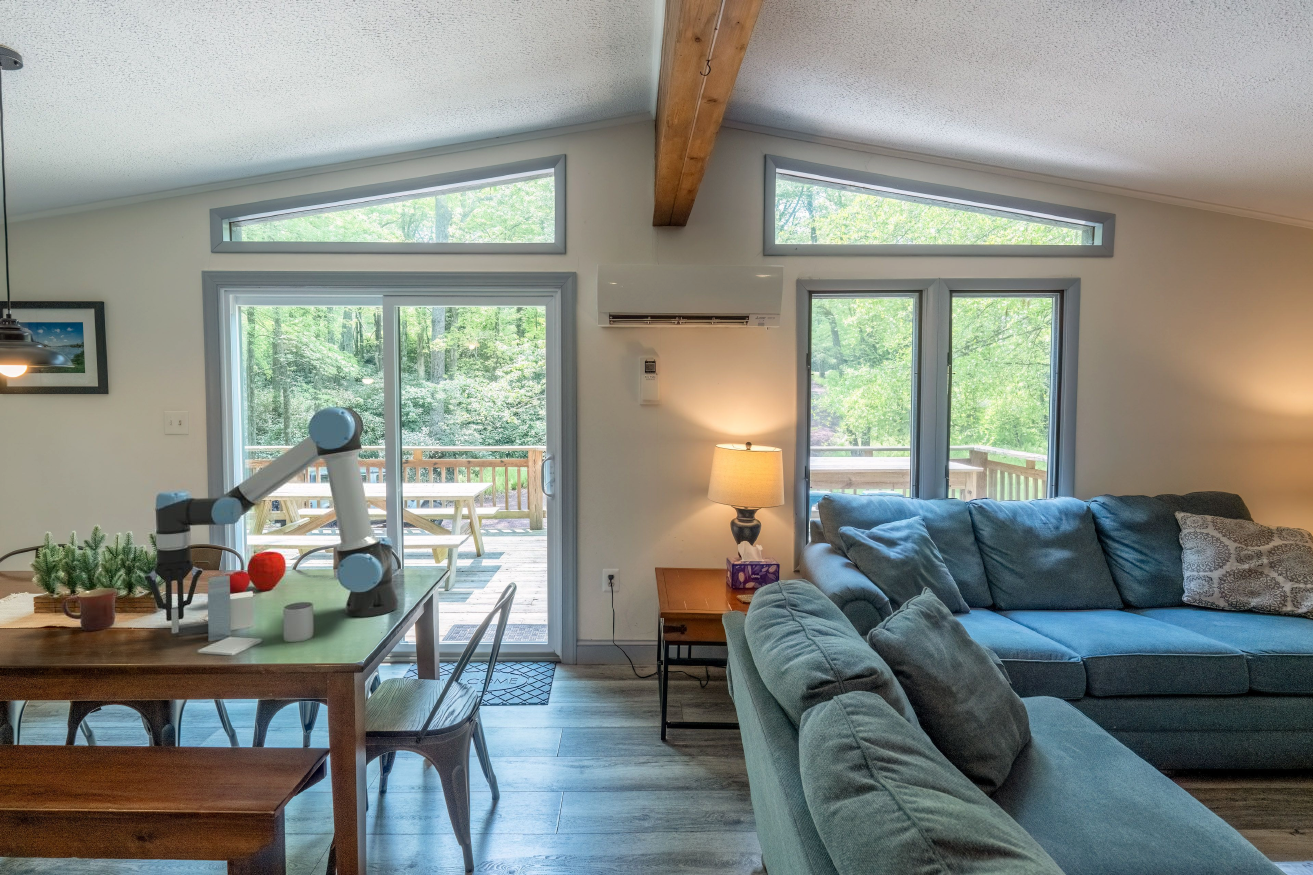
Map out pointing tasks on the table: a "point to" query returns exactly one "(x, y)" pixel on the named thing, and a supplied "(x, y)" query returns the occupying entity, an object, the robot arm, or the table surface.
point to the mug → (94, 608)
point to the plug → (238, 612)
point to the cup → (298, 621)
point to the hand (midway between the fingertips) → (175, 631)
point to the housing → (219, 608)
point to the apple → (266, 569)
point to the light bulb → (238, 582)
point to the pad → (230, 646)
